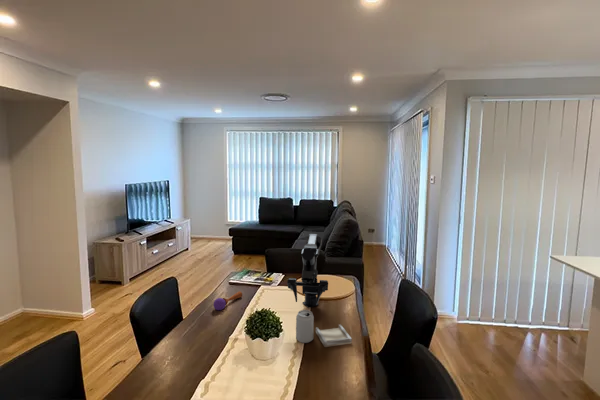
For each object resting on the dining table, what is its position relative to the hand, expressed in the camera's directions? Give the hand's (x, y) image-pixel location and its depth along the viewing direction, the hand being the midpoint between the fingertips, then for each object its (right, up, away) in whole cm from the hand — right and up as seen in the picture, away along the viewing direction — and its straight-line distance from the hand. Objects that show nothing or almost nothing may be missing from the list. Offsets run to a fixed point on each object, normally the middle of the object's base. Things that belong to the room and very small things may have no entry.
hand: (306, 302), depth 144 cm
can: (-1, -14, -6) cm, 15 cm away
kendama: (-41, -10, +27) cm, 50 cm away
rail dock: (+11, -14, -4) cm, 18 cm away
